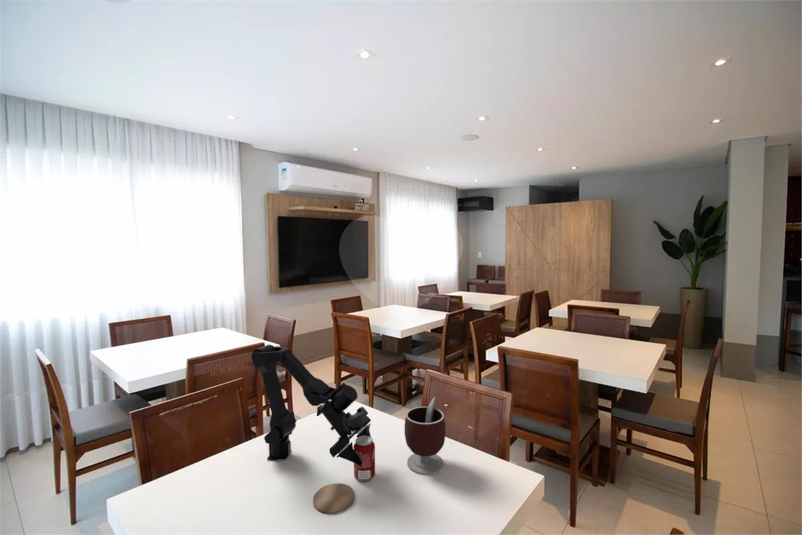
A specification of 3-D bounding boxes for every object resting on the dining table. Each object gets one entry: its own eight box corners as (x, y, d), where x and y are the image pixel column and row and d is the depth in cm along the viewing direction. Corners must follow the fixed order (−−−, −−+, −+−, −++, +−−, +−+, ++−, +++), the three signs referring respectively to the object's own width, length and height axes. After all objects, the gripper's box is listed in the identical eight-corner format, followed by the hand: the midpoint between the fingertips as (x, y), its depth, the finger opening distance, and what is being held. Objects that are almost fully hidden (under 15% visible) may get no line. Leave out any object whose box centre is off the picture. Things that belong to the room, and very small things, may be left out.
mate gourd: (436, 481, 116) (435, 419, 115) (397, 469, 123) (396, 410, 121) (453, 456, 130) (453, 400, 128) (417, 446, 136) (417, 393, 135)
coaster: (307, 513, 103) (307, 510, 102) (319, 485, 115) (319, 482, 114) (350, 514, 102) (350, 511, 102) (357, 486, 114) (357, 483, 114)
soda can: (371, 484, 115) (371, 446, 114) (351, 481, 116) (350, 444, 116) (377, 471, 122) (377, 435, 121) (358, 468, 123) (357, 433, 122)
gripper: (337, 415, 110) (371, 458, 107) (365, 392, 128) (395, 428, 124) (315, 436, 114) (347, 479, 110) (345, 411, 131) (374, 447, 128)
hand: (368, 456), depth 118 cm, fingers open, 9 cm apart
